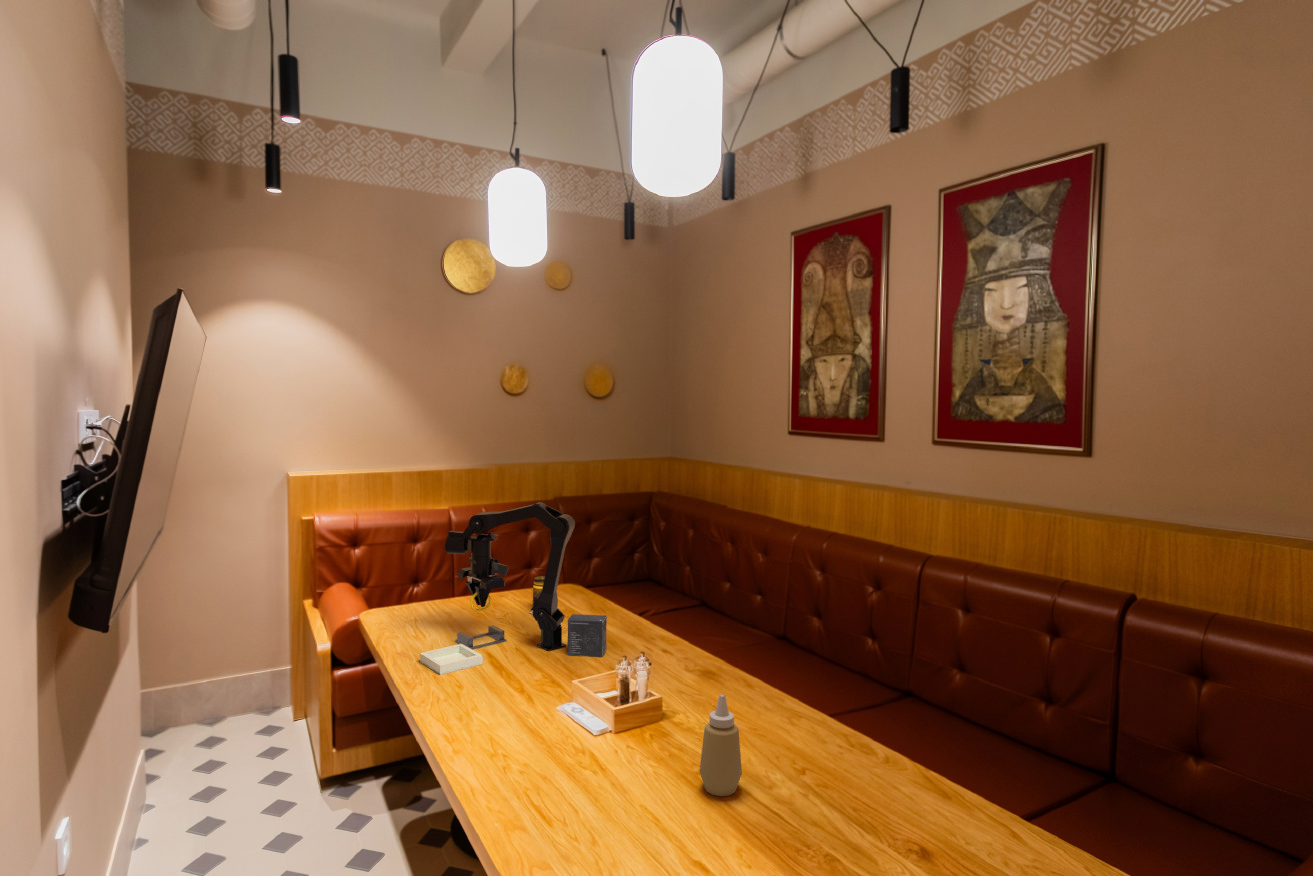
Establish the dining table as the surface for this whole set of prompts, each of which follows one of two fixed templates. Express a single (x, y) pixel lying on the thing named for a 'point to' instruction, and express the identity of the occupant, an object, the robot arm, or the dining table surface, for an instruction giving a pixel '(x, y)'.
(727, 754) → the squeeze bottle
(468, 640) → the grey rectangular open frame
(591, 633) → the box
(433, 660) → the parts tray
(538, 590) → the condiment
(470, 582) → the robot arm
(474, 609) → the watch
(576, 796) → the dining table surface
